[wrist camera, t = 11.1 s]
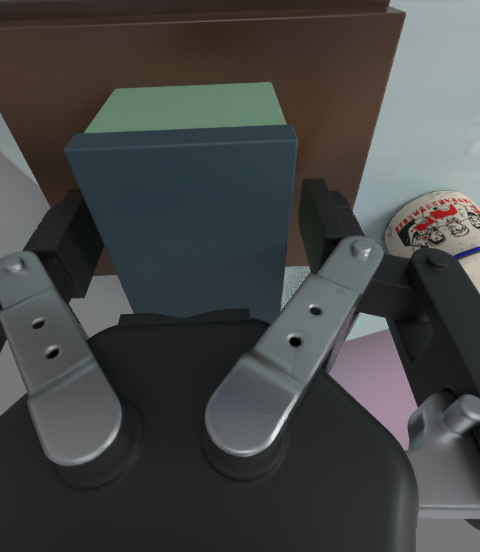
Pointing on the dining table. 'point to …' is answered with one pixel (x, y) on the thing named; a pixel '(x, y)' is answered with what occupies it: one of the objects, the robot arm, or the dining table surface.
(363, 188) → the dining table surface
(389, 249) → the teacup with lid
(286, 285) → the dining table surface
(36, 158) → the shelf riser
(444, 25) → the dining table surface
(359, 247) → the robot arm
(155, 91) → the box
